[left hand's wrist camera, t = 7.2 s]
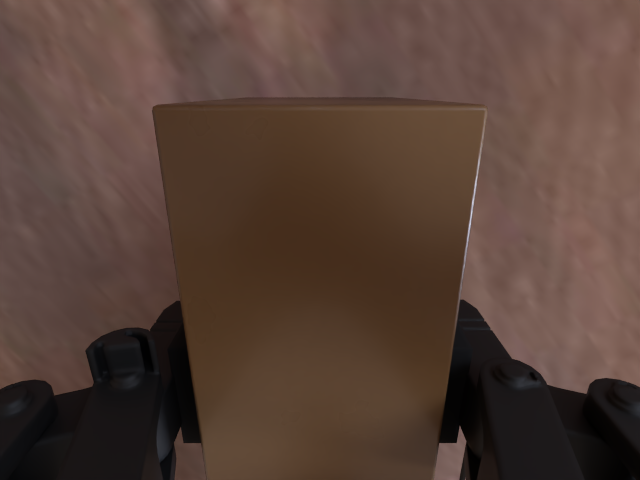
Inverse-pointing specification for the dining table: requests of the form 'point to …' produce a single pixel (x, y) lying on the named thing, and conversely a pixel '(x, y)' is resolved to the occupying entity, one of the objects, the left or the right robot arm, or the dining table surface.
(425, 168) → the beam
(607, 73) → the dining table surface
